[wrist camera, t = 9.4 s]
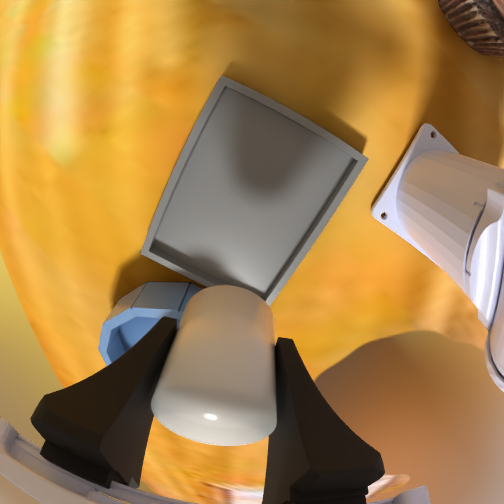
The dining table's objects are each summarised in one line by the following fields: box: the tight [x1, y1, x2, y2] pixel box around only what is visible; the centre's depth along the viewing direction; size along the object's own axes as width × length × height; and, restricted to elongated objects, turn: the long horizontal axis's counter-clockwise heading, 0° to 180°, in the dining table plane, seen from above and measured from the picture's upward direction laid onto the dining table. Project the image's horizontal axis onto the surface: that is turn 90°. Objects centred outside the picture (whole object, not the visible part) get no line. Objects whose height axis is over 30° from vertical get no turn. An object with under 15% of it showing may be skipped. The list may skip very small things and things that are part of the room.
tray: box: [140, 75, 368, 307], centre depth 18 cm, size 10×13×1 cm
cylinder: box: [151, 285, 277, 446], centre depth 11 cm, size 4×4×6 cm
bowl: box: [98, 282, 203, 366], centre depth 23 cm, size 14×14×4 cm
